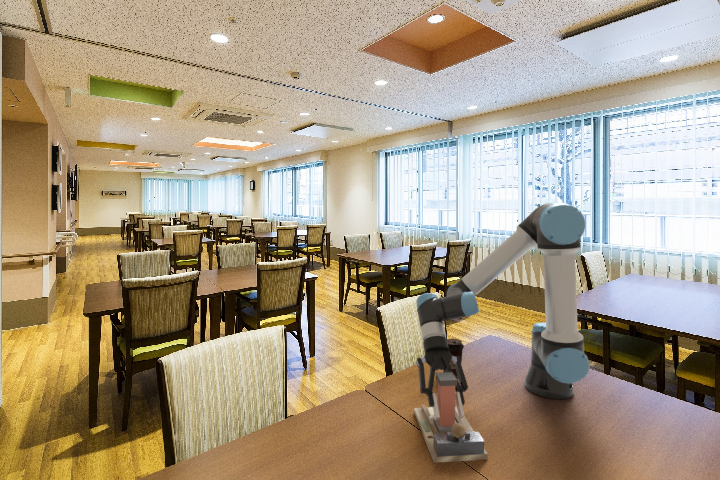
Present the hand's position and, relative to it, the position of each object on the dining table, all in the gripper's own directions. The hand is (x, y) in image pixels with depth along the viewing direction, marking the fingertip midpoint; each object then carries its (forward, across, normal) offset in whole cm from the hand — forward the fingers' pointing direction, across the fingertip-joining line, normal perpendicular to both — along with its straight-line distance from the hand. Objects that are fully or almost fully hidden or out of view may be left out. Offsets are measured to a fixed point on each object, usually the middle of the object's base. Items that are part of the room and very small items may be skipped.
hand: (449, 417), depth 105 cm
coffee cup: (-23, -13, -32) cm, 41 cm away
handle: (0, +1, -6) cm, 6 cm away
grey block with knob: (+8, 0, +2) cm, 9 cm away
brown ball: (+6, 0, +5) cm, 7 cm away
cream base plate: (+3, 0, -6) cm, 6 cm away
